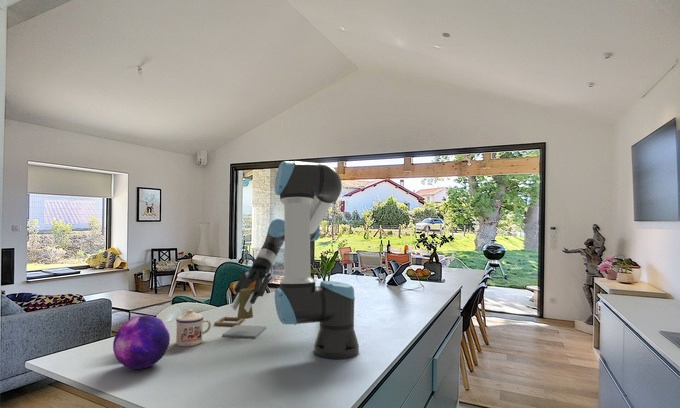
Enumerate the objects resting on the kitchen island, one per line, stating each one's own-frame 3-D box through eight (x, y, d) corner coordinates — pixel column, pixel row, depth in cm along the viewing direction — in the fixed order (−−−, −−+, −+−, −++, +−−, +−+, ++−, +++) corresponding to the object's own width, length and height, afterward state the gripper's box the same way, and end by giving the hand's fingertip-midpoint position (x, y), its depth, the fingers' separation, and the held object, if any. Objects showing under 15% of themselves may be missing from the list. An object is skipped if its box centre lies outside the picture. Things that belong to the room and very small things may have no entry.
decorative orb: (106, 366, 114) (108, 315, 114) (158, 354, 124) (160, 307, 125) (120, 382, 103) (122, 326, 104) (176, 367, 114) (178, 316, 114)
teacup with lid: (178, 348, 130) (179, 314, 130) (172, 341, 137) (173, 308, 138) (214, 342, 137) (215, 309, 137) (206, 336, 144) (207, 304, 145)
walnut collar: (236, 326, 157) (236, 323, 157) (214, 325, 158) (214, 322, 158) (244, 320, 167) (244, 317, 167) (223, 319, 168) (223, 316, 168)
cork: (246, 314, 155) (247, 286, 155) (256, 316, 151) (256, 288, 151) (234, 316, 150) (234, 288, 150) (243, 319, 146) (244, 290, 146)
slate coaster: (255, 338, 142) (255, 336, 142) (222, 336, 144) (222, 334, 144) (266, 328, 155) (266, 326, 155) (235, 326, 157) (235, 324, 157)
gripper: (285, 268, 162) (263, 317, 146) (249, 266, 168) (224, 312, 153) (279, 257, 157) (256, 306, 141) (242, 255, 164) (216, 301, 148)
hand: (239, 309), depth 147 cm, fingers closed on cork, 5 cm apart
